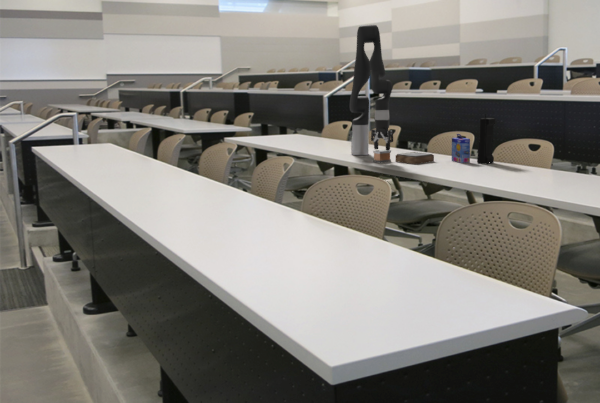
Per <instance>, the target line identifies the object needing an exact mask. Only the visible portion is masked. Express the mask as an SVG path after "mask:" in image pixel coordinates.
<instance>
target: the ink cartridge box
mask: <svg viewBox="0 0 600 403" xmlns="http://www.w3.org/2000/svg"><path fill="white" fill-rule="evenodd" d="M456 136H457V137H452V138H451V162H456V163H460V164H464V163H465V164H466V163H470V162H471V140H470V138H467V137H462V136H463V135H462V134H459V133H456Z"/></svg>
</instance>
